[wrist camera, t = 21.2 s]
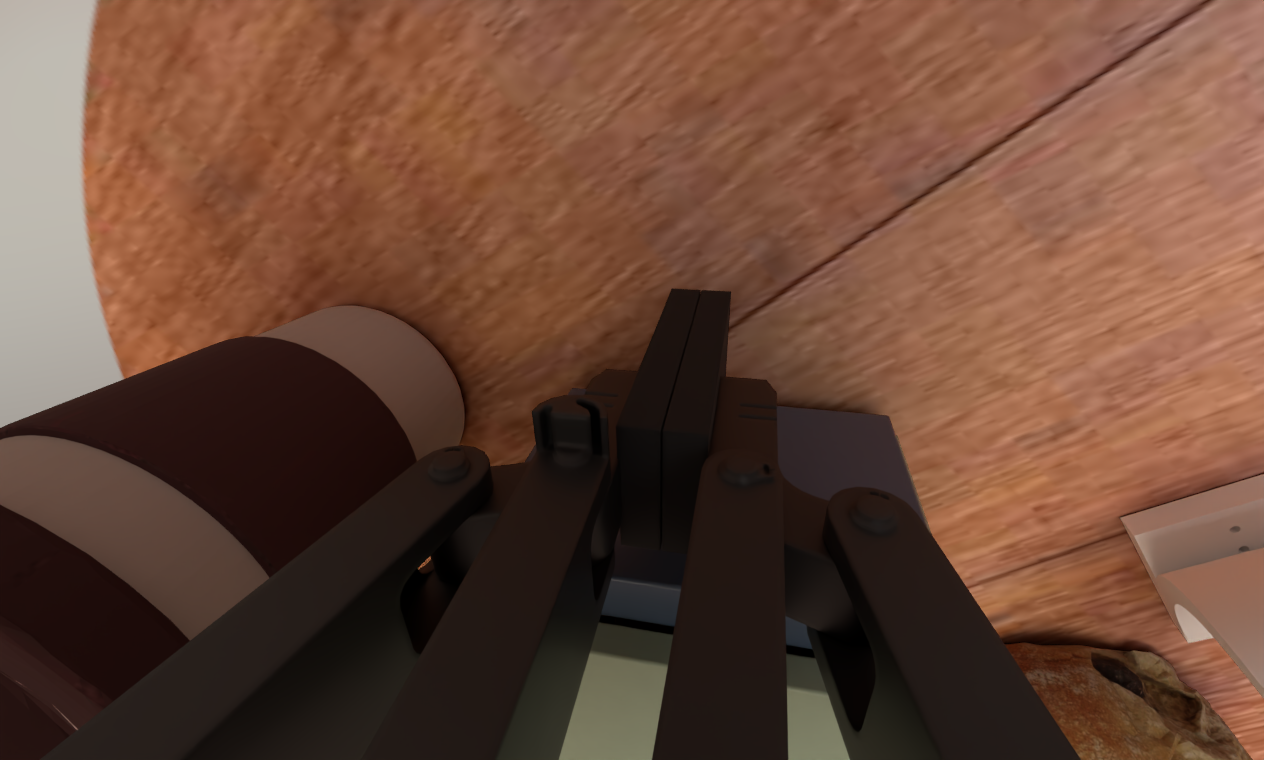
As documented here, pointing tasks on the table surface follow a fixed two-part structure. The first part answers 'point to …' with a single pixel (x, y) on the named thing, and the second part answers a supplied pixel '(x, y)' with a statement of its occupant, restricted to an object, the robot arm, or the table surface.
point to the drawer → (811, 461)
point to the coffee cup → (192, 499)
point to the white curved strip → (1210, 567)
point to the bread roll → (1124, 705)
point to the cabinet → (633, 689)
